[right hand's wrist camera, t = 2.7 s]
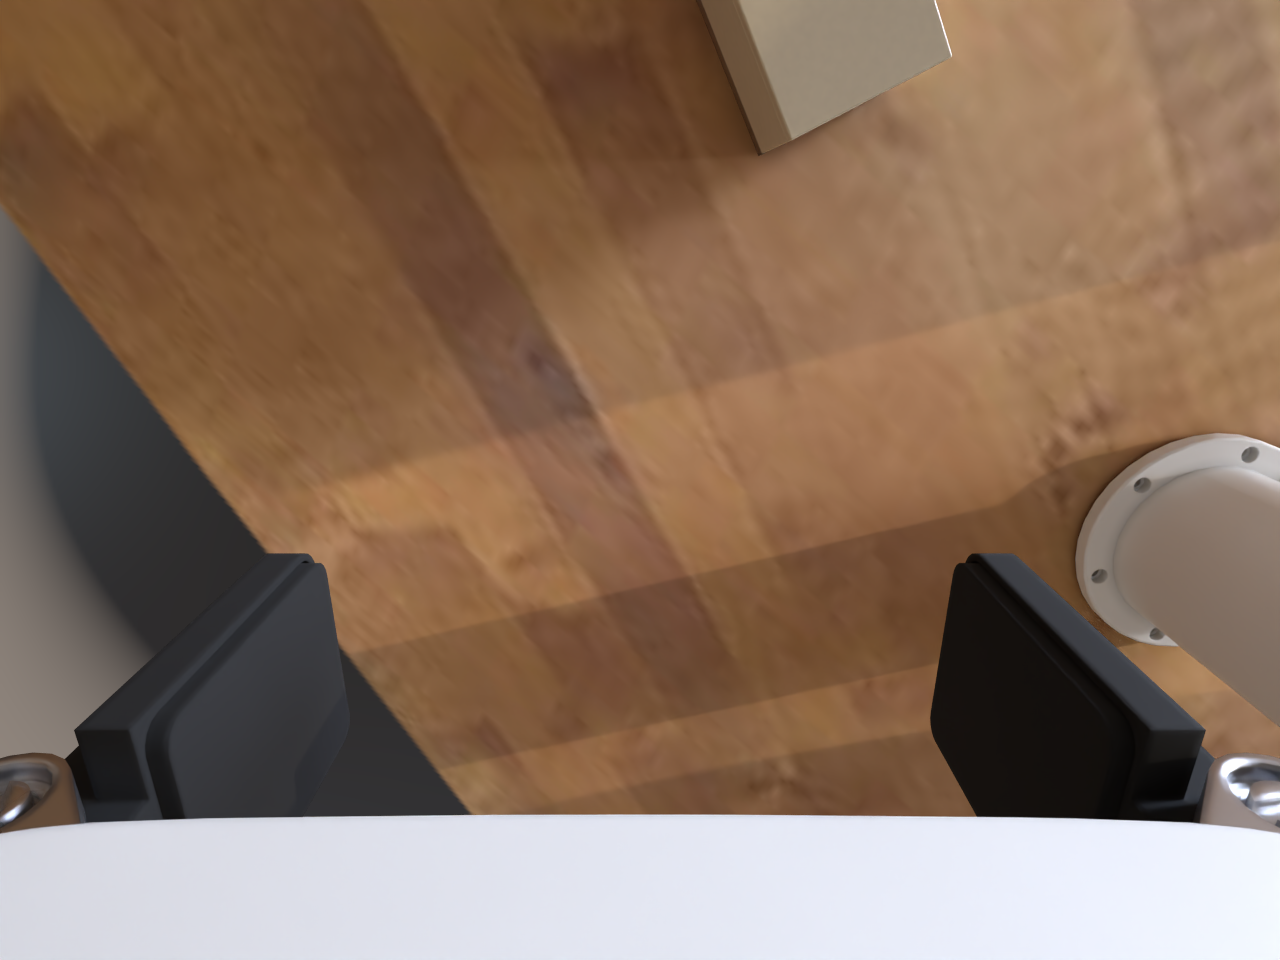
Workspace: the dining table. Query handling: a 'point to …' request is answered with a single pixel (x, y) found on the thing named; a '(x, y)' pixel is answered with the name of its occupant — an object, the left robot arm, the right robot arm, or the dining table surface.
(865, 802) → the dining table surface
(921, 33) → the cabinet
